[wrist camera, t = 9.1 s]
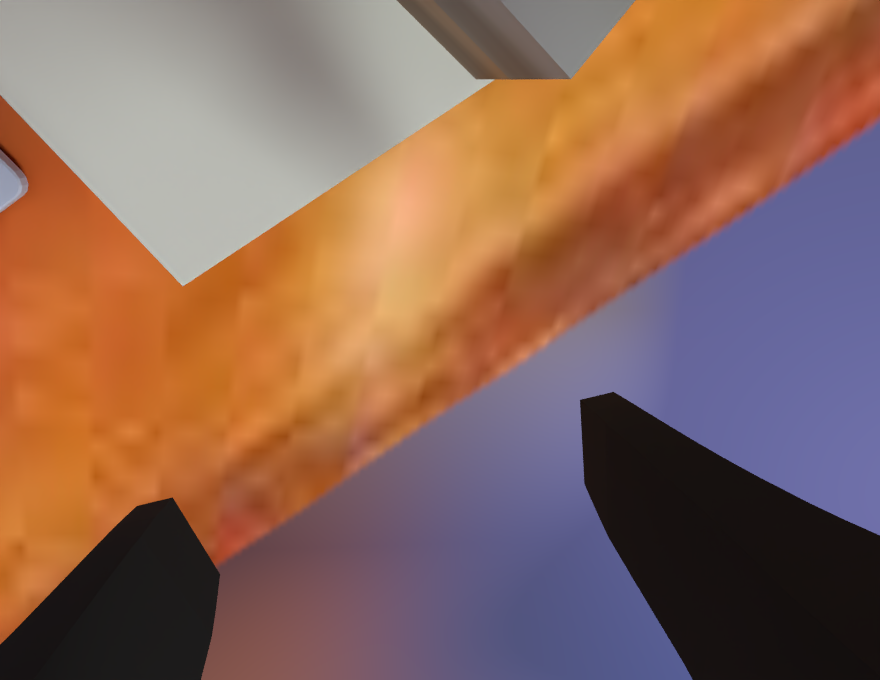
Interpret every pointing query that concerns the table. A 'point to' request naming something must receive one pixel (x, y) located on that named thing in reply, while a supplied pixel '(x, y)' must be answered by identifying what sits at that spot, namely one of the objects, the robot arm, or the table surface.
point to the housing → (519, 33)
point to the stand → (220, 105)
